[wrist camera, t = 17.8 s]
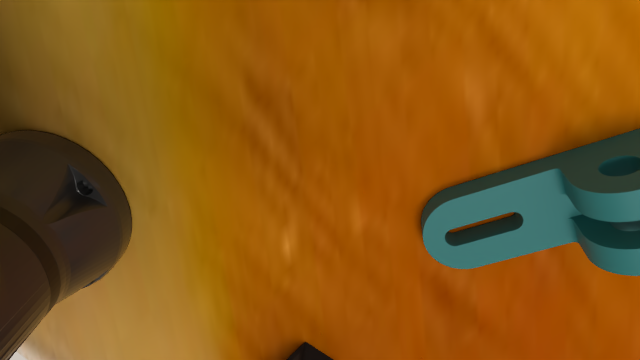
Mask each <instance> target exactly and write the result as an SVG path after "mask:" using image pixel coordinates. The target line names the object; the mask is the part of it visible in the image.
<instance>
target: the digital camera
mask: <svg viewBox="0 0 640 360" xmlns="http://www.w3.org/2000/svg"><path fill="white" fill-rule="evenodd" d="M287 360H333V359H331V358H330V357H328V356H327V355H325V354H324V353H322V352H321V351H319V350H318V349H316V348H315V347H313V346H311V345H310V344H308V343H306V342H305V343H303V344H302V345H301V346H300V347H299V348H298V349H297V350H296V351H295V352H294V353H293V354H292V355H291V356H290V357H289V358H288V359H287Z"/></svg>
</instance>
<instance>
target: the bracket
mask: <svg viewBox="0 0 640 360" xmlns="http://www.w3.org/2000/svg"><path fill="white" fill-rule="evenodd" d="M510 212H516V213H515V214H514V215H512V216H510V217H507V218H503V219H500V220H496V221H493V222H489V223H486V224H482V225H479V226H475V227H472V228H468V229H465V230H461V231H458V232H454V233H450V232H448V231H449V230H451V229H454V228H457V227H461V226H464V225H468V224H471V223H475V222H478V221H482V220H485V219H489V218H492V217H496V216H499V215H503V214H506V213H510ZM421 226H422V234H423V241H424V245H425V247H426V249H427V251H428V252H429V254H430V255H431V256H432V257H433V258H434V259H435V260H437V261H438V262H440V263H442V264H444V265H446V266H449V267H452V268H458V269H470V268H476V267H480V266H484V265H487V264H491V263H495V262H499V261H503V260H506V259H510V258H514V257H518V256H522V255H525V254H529V253H533V252H537V251H540V250H544V249H548V248H552V247H556V246H559V245H563V244H567V243H571V242H578V243H579V244H580V245H581V247H582V249H583V250H584V252H585V254H586V255H587V257H588V258H589V260H590V261H591V262H592V263H593V264H595V265H596V266H598V267H599V268H601V269H603V270H606V271H608V272H612V273H616V274H621V275H631V276H640V129H636V130H633V131H630V132H627V133H624V134H620V135H617V136H614V137H611V138H607V139H604V140H601V141H598V142H594V143H591V144H588V145H585V146H582V147H578V148H575V149H572V150H569V151H565V152H562V153H559V154H556V155H552V156H549V157H546V158H543V159H540V160H536V161H533V162H530V163H527V164H523V165H520V166H517V167H514V168H510V169H507V170H504V171H501V172H497V173H494V174H491V175H488V176H485V177H481V178H478V179H475V180H472V181H468V182H465V183H462V184H459V185H455V186H452V187H449V188H446V189H444V190H442V191H440V192H439V193H437V194H436V195H435V196H433V197H432V198H431V199H430V200H429V202H428V203H427V204H426V206H425V208H424V210H423V213H422V217H421Z"/></svg>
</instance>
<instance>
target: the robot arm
mask: <svg viewBox="0 0 640 360" xmlns="http://www.w3.org/2000/svg"><path fill="white" fill-rule="evenodd" d="M131 229H132V221H131V213H130V209H129V205H128V202H127V199H126V197H125V195H124V193H123V191H122V189H121V187H120V185H119V184H118V182H117V181H116V179H115V178H114V176H113V175H112V174H111V173H110V171H109V170H108V169H107V168H106V167H105V166H104V165H103V164H102V163H101V162H100V161H99V160H98V159H97V158H95V157H94V156H93V155H92V154H90V153H89V152H88V151H86V150H85V149H83V148H82V147H80V146H78V145H77V144H75V143H73V142H71V141H69V140H66V139H64V138H62V137H59V136H56V135H53V134H49V133H45V132H39V131H27V130H25V131H14V132H9V133H5V134H2V135H0V360H9V359H10V358H11V357H12V356H13V354H14V353H15V352H16V351H17V349H18V348H19V347H20V346H21V345H22V343H23V342H24V341H25V340H26V339H27V337H28V336H29V335H30V334H31V333H32V331H33V330H34V329H35V328H36V326H37V325H38V324H39V323H40V322H41V320H42V319H43V318H44V317H45V316H46V314H47V313H48V312H49V311H50V310H51V309H52V307H53V306H54V305H55V304H57V303H58V302H60V301H62V300H63V299H65V298H67V297H68V296H70V295H72V294H73V293H75V292H77V291H78V290H80V289H82V288H85V287H87V286H89V285H91V284H93V283H95V282H97V281H98V280H100V279H101V278H103V277H104V276H105V275H106V274H107V273H108V272H109V271H110V270H111V269H112V268H113V267H114V265H115V264H116V263H117V261H118V260H119V259H120V258H121V256H122V255H123V254H124V252H125V250H126V248H127V246H128V244H129V241H130V237H131Z"/></svg>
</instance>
